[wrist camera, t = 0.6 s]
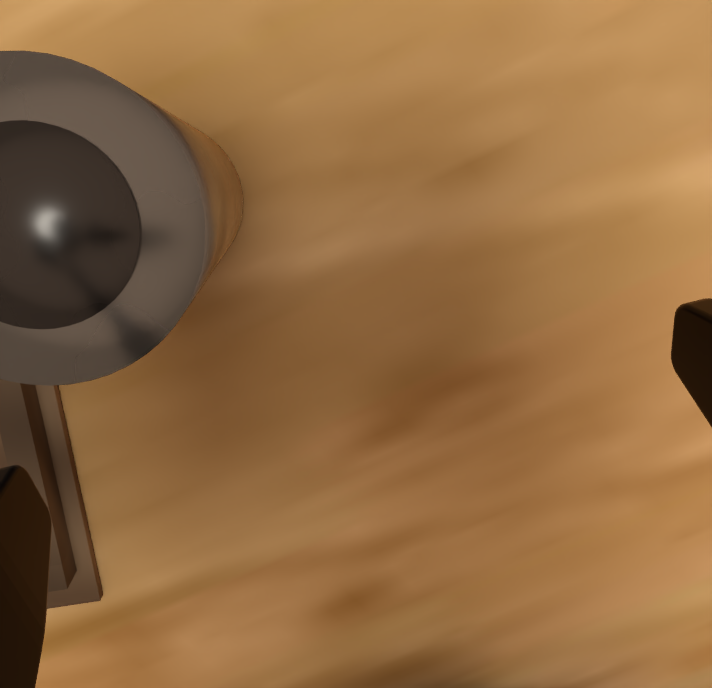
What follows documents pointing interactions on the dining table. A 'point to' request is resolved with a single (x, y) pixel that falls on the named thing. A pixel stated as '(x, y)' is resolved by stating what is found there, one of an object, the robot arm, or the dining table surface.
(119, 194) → the grey cylindrical can
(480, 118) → the dining table surface
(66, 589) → the grey square tray
